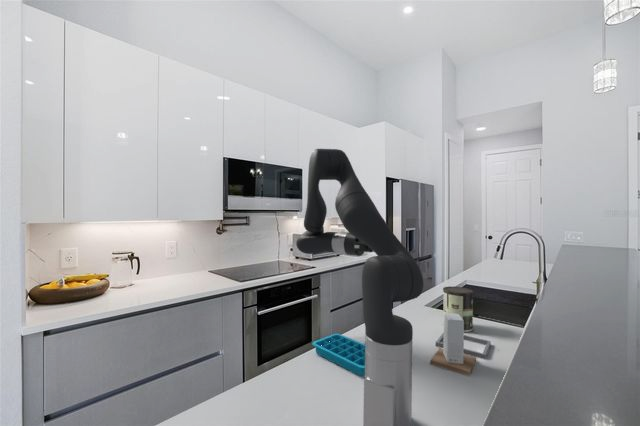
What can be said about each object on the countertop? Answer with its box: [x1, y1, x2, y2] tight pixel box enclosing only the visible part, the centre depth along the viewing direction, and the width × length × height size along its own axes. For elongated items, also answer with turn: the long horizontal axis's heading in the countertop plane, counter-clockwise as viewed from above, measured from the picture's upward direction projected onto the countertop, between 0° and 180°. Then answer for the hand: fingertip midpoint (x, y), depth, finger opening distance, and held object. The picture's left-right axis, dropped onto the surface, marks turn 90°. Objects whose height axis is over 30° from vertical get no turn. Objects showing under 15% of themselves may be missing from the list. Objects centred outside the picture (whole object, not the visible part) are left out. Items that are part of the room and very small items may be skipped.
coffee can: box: [442, 286, 474, 333], centre depth 110 cm, size 10×10×14 cm
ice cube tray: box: [311, 333, 365, 377], centre depth 85 cm, size 12×20×3 cm, turn 44°
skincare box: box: [442, 313, 465, 364], centre depth 84 cm, size 6×4×12 cm
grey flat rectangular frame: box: [435, 332, 492, 360], centre depth 95 cm, size 12×14×1 cm
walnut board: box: [429, 347, 477, 377], centre depth 83 cm, size 10×10×1 cm
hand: (395, 247), depth 88 cm, fingers open, 8 cm apart
